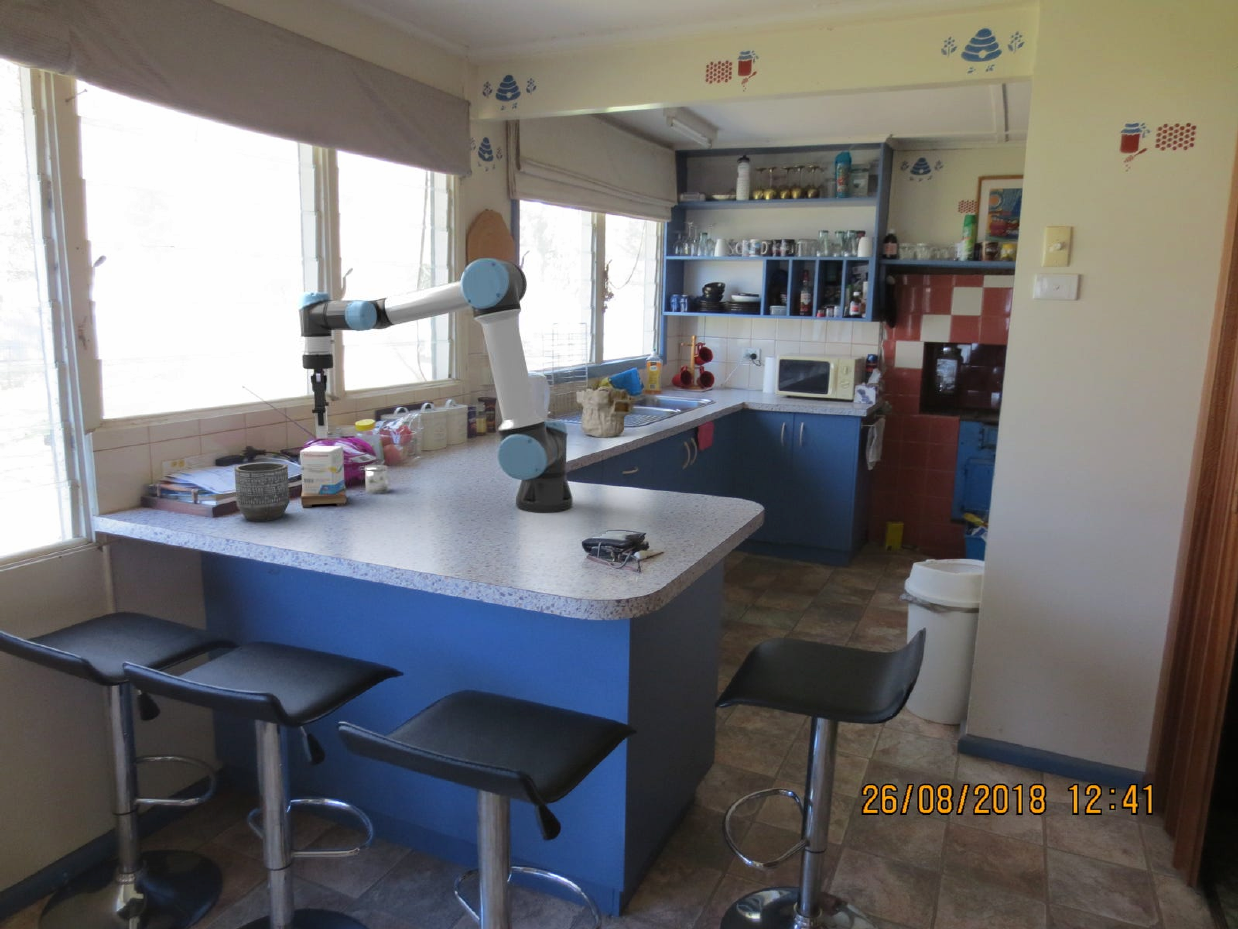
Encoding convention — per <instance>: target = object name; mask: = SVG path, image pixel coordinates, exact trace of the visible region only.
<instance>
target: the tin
mask: <svg viewBox="0 0 1238 929" xmlns="http://www.w3.org/2000/svg"><path fill="white" fill-rule="evenodd" d="M388 469H389V468H388V465H384V464H371V465H370V464H369V465H366V466H364V471H365V472H364V473H365V477H364V480H365V493H366V494H369V493H373V494H372V495H379V494H378V493H382V494H386V493H388V492H389V485H388V484H389V483H388V481H389V480H388Z"/></svg>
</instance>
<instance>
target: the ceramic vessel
mask: <svg viewBox="0 0 1238 929" xmlns="http://www.w3.org/2000/svg"><path fill="white" fill-rule="evenodd" d="M635 401H636V398H635V396H631V394H630V393H629V392H628V391H627V390H626V389H619V388H614V387H613V386H612V387H611V386H609V385H608V386H607V385H605V386H600V387H598V388H597V389H596V390H593V389H592V388H588V389H587V388H586V389H585V390H583V389H582V390H578V391H576V402H577V403H578V404H580V405H581V406H582V415H581V419H580V424H581V429H582V431H583V432H584V433H585V434H586V435H587V436H592V437H596V438H603V439H604V438H605V439H607V438H614V437H617V436H619V435H621V434H622V433H623V432H624V430H625V422H624V421H625V417H626V416H628V415H630V414H631V412H632V411H633V407H634V405H635Z"/></svg>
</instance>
